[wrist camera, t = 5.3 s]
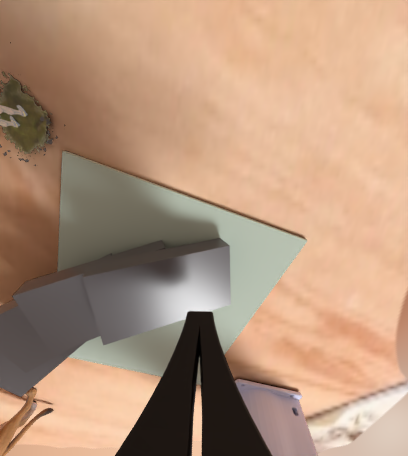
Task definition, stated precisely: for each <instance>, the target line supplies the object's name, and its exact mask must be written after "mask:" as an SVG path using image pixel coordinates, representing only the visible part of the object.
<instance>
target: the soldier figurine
mask: <svg viewBox="0 0 408 456" xmlns="http://www.w3.org/2000/svg"><path fill="white" fill-rule="evenodd" d="M10 43H11V42H10ZM2 73H3V76H5V74H4V72H2ZM10 73H11V72H10ZM8 74H9V73H8ZM9 76H10V74H9ZM5 77H6V76H5ZM6 78H7V77H6ZM8 78H9V77H8ZM0 82H1V84H3V86H4V88H1V87H0V88H1V89H3V91H4V92H1V94H0V95H2V97H1V96H0V125H1V126H2V127H3V133H6V135H7V136H6V135H5V136H4V137H5V138H6V139H7V140H9V139H10V142H11V143H12V142H14V143H15V147H16V149H18V147H19V150H20V152H22V151H21V150H23V151H24V154H31V151H32V150H33V149H34V148H36V149H37V147H36V146H38V147H39V145H40V146H41V147H43V146H44V145H45V144H44V142H45V143H46V144H48V143H49V144H52V140H53V139H49V138H48V136H50V133H49V130H48V131H47V129H46V127H48V128H50V127H49V126H48V125H50V123H51V122H50V118H48V117H47V115H48V113H47V112H46V110H45V111H43V110H42V109H41V106H37V105H36V104H35V101H34V100H33V99H34V97H31V96H29V95H28V94H27V93H26V94H24V93H22V91H21V88H20V87H21V85H20V82H18V80H16V79H14V78H13V77H12V75H11V76H10V81H9V83H7V85H6V84H4V83H3V82H2V80H1V81H0ZM22 88H23V91H24V88H26V91H28V89H27V86H26V85H24V86H23V87H22ZM37 103H39V101H37ZM50 114H51V113H50ZM51 115H52V114H51ZM64 126H65V125H64ZM46 131H47V133H48V134H46ZM52 132H53V131H52ZM46 135H47V136H46ZM57 138H58V137H57V136H56V139H57ZM45 140H47V141H45ZM0 147H2V146H1V145H0ZM44 147H45V146H44ZM39 148H40V147H39ZM40 150H41V149H40ZM37 151H38V152H39V153H40V151H39V150H38V149H37ZM44 151H45V152H46V148H44ZM8 152H10V150H8ZM18 153H19V152H18ZM35 154H36V153H35ZM4 155H5V156H6V155H7V153H6V152H5V153H4ZM44 155H45V154H44ZM17 156H18V155H17ZM22 156H23V155H22ZM29 156H30V155H29ZM10 158H11V157H10ZM26 158H27V157H26ZM19 160H20V161H21V160H24V159H19ZM24 161H25V162H28V161H29V160H28V159H27V160H24ZM35 166H36V165H35Z"/></svg>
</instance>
